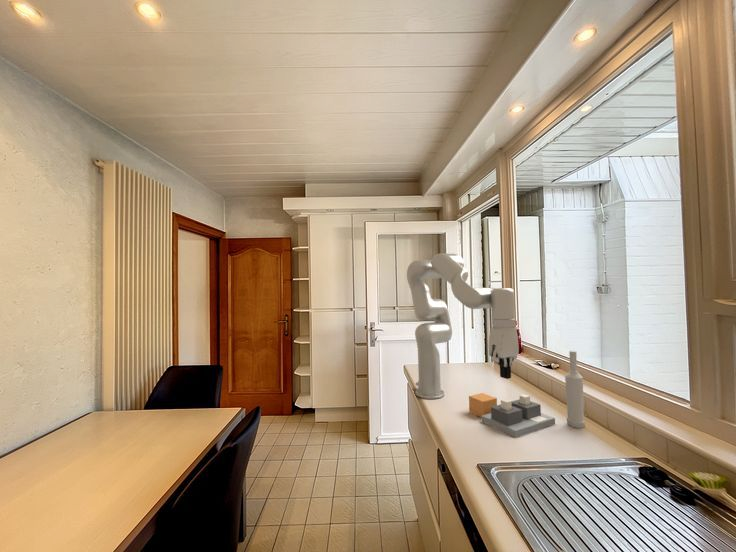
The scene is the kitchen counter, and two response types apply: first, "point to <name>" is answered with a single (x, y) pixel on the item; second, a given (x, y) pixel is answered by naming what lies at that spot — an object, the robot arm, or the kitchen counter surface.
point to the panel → (519, 426)
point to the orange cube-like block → (481, 404)
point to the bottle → (574, 394)
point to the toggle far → (524, 399)
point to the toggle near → (506, 404)
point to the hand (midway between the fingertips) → (505, 377)
